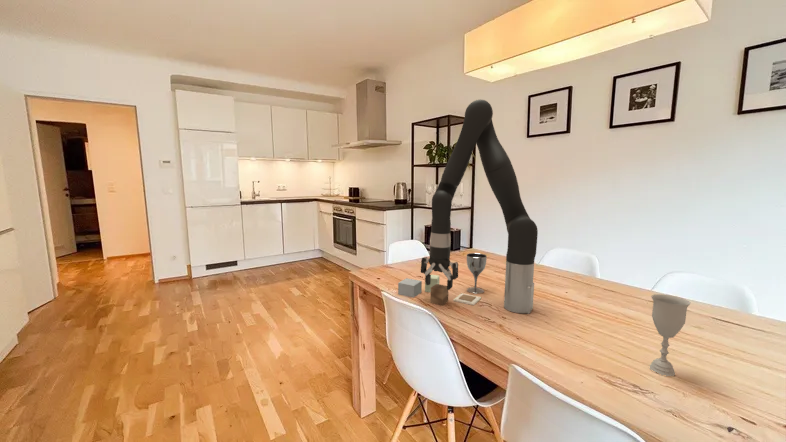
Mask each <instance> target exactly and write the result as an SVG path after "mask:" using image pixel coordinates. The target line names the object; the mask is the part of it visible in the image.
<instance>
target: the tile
mask: <svg viewBox="0 0 786 442" xmlns="http://www.w3.org/2000/svg"><path fill="white" fill-rule="evenodd" d="M481 299H482V297H481V296H477V295H472V294H468V293H460V294H459V295H456V297H455V298H453V302H457V303H460V304H466V305H470V306H475V305H476V304H477V303H478V302H479V301H480V300H481Z"/></svg>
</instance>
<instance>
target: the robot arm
mask: <svg viewBox="0 0 786 442" xmlns="http://www.w3.org/2000/svg"><path fill="white" fill-rule="evenodd" d="M493 115H494V111H493V107H492V106H491V104H490V102H488V101H487V100H485V99H476V100H473V101H472V102H470V103H469V104H468V105H467V107H466V108H465V112H464V117H463V123H462V126H461V129H460V133H459V136H458V139H457V140H456V143H455V146H454V147H453V150H452V152H451V154H450V156H449V158H448V160H447V163H446V165H445V168H444V169H443V172H442V175H441V178H440V182H439V183H438V186H437V188H436V190H435V192H434V194H433V195H432V198H431V227H430V237H429V257H427V256H424V257H422V258H421V263H420V273H421V274H424V284H425V283H426V285H430V282H431V275H432V274H431V273H432V272H433V271H434V272H439V273H442V274H443V275H444V276H445V277H446V278H447V281H446V286H447V290H448V291H450V290H451V289H452V288H453V282H454V281H455V280H457V279H458V277H459V262H457V261H454V262H453V261H451V259H450V258H451V244H452V243H451V242H452V241H451V239H452V237H451V229H452V226H451V225H452V224H451V223H452V222H451V215H452V204H453V199H454V196H455V194H456V191H457V189H458V187H459V185H460V184H461V181H462V180H463V177H464V175H465V172H466V171H467V169H468V166H469V163H470V161H471V160H470V159H471V157H472V154H473V151H474V149H475V146H477V150H478V154H479V157H480V161H481V164H482V168H483V171H484V173H485V174H484V175H485V177H486V179H487V181H488V184H489V187H490V189H491V191H492V193H493V194H494V196H495V198H496V200H497V202H498V204H499V206H500V209H501V210H502V214H503V218H504V222H505V226H506V231H507V236H508V237H507V249H506V250H507V251H506V254H505V255H506V257H505V258H506V259H505V281H504V296H503V297H504V299H503V307H504V309H505V310H506V311H509V312H512V313H517V314H528V315H529V314H531V312H532V310H533V307H534V295H535V283H534V273H535V272H534V270H535V259H536V255H537V247H538V246H537V245H538V234H539V233H538V231H539V230H538V226H537V224H536V223H535V221H534V220H533V219H532V218H530V215H529V214H528V212H527V209H526V208H525V206H524V203H523V201H522V197H521V192H520V186H519V182H518V178H517V175H516V172H515V169H514V167H513V164H512V162H511V158H510V157H509V155H508V154H507V152H506V150H505V149H504V146H503V145H502V144H501V142H500V140H499V138H498V135H497V134H496V130H495V127H494V123H493ZM428 263H429V265H430V266H429V267H427V266H428ZM450 267H451V269H452V270H451V269H450ZM451 271H452V272H451Z"/></svg>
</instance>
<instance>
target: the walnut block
mask: <svg viewBox="0 0 786 442" xmlns="http://www.w3.org/2000/svg"><path fill="white" fill-rule="evenodd" d="M429 295H430V296H429V297H430V301H429V302H430V303H429V304H434V305H436V306H437V305H438V306H444V305H445V304H447V303H448V302H449V290H447V285H443V284H440V283H439V284H436V285H434V286H432V287H431V292H430V294H429Z"/></svg>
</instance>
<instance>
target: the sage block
mask: <svg viewBox="0 0 786 442" xmlns="http://www.w3.org/2000/svg"><path fill="white" fill-rule="evenodd" d="M430 275H431V282H430V285H426V283H425V282H424V292H425V293H431V287H432V286H434V285H436V284H439V285H440V275H437V274H430Z"/></svg>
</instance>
